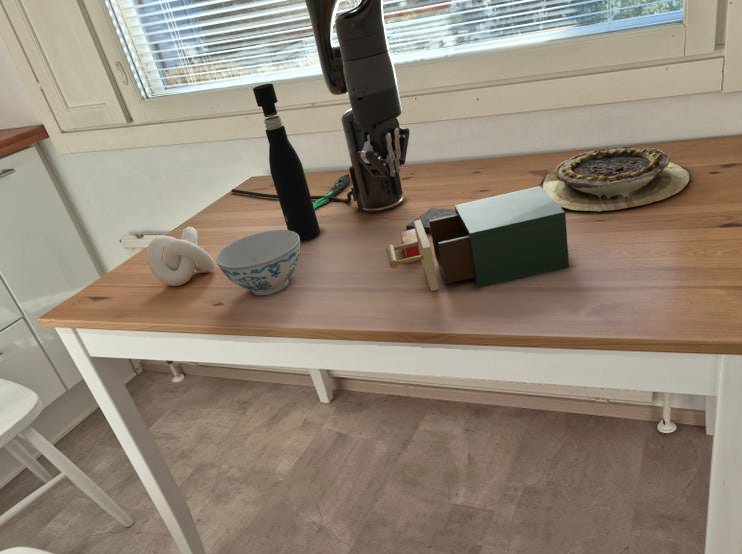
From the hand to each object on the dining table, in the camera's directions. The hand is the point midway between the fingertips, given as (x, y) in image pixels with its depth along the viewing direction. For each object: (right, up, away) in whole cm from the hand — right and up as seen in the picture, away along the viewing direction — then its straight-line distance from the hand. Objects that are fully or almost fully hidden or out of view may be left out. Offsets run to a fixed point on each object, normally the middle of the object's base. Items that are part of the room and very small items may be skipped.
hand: (394, 196), depth 110 cm
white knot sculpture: (-41, -10, +25) cm, 49 cm away
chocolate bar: (+12, -1, +19) cm, 23 cm away
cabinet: (+20, -10, +1) cm, 22 cm away
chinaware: (-23, -14, +12) cm, 29 cm away
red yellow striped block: (+4, -7, +12) cm, 14 cm away
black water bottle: (-19, -1, +31) cm, 36 cm away
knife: (-16, +13, +52) cm, 56 cm away
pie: (+42, +7, +21) cm, 47 cm away
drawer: (+9, -12, +1) cm, 15 cm away
